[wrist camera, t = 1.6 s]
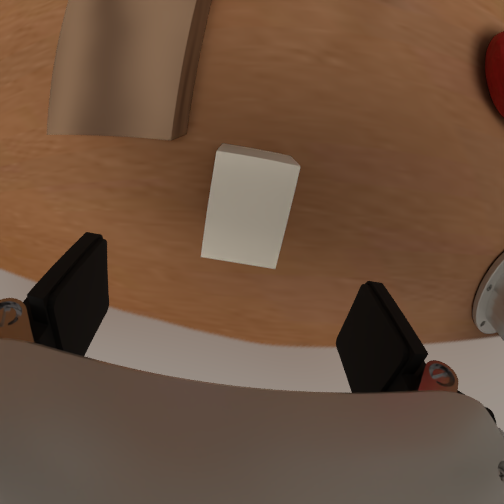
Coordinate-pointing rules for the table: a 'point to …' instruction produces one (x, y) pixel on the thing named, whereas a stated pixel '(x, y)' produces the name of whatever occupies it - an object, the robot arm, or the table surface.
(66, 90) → the walnut block
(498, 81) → the pomegranate
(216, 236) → the cream block
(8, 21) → the table surface
